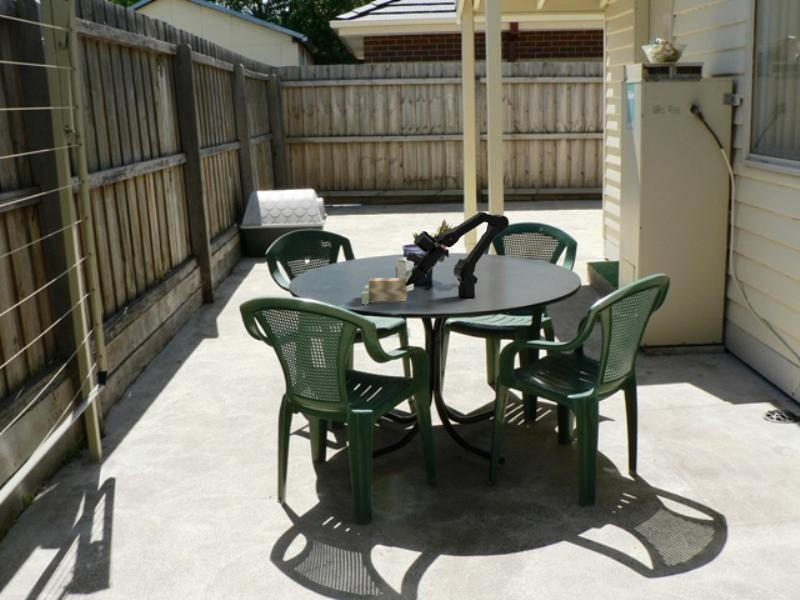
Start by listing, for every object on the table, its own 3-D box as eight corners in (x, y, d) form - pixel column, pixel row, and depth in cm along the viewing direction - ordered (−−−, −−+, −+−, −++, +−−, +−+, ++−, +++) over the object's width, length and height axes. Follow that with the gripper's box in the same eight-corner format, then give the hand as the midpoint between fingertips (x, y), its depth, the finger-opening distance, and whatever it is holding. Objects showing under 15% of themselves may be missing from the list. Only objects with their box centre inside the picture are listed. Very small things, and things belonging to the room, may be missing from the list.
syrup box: (404, 288, 384) (403, 256, 380) (414, 290, 380) (413, 257, 377) (395, 291, 379) (395, 258, 376) (406, 292, 376) (405, 259, 372)
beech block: (406, 298, 364) (406, 277, 362) (405, 302, 358) (405, 280, 356) (370, 299, 365) (370, 278, 363) (369, 302, 359) (368, 281, 357)
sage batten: (372, 296, 370) (371, 285, 369) (368, 305, 354) (367, 293, 353) (366, 296, 370) (365, 285, 369) (362, 305, 355) (361, 293, 353)
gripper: (417, 241, 364) (393, 267, 368) (416, 248, 346) (390, 276, 350) (437, 258, 366) (412, 285, 369) (436, 267, 348) (410, 295, 351)
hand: (406, 285), depth 360 cm, fingers closed, pressing on beech block
